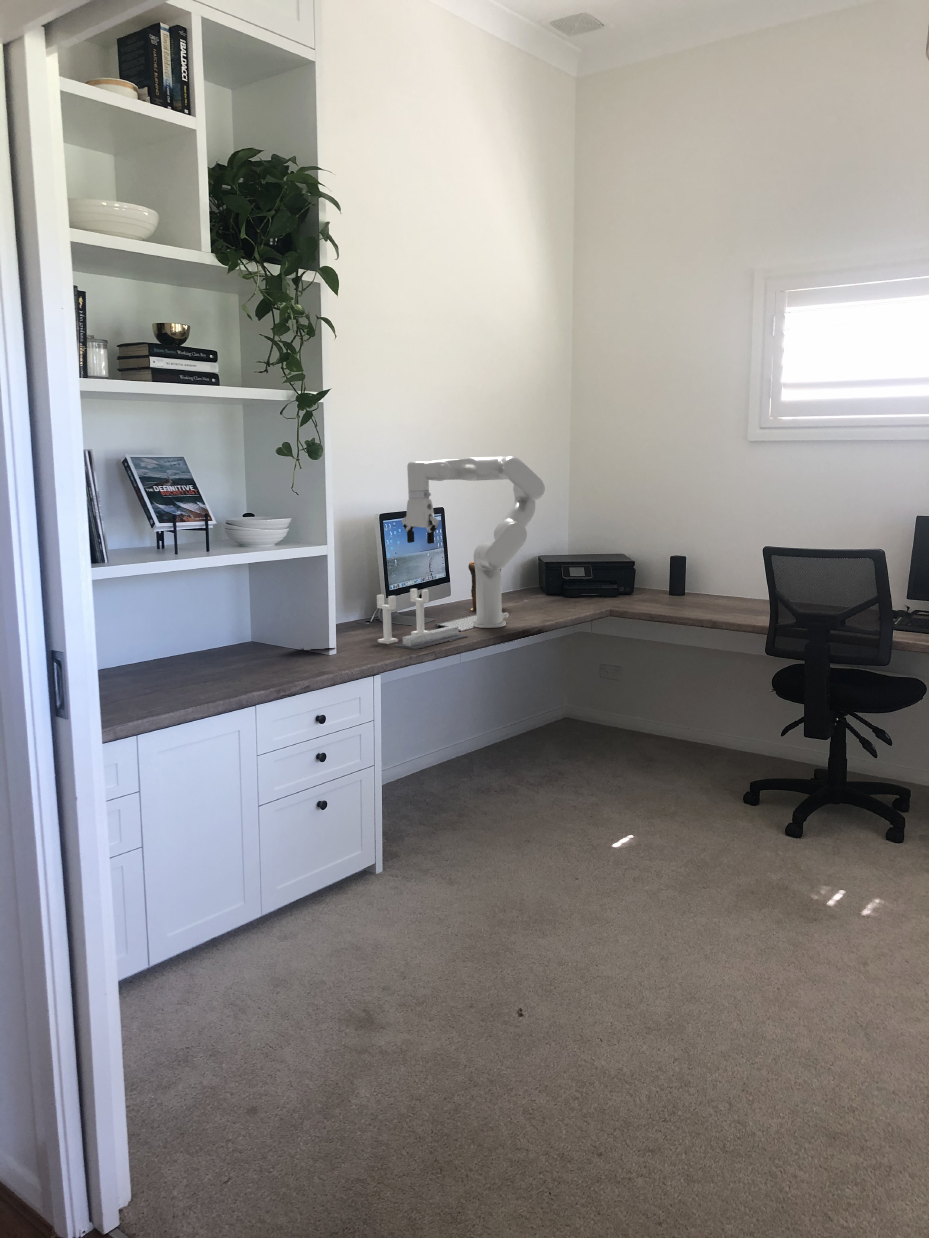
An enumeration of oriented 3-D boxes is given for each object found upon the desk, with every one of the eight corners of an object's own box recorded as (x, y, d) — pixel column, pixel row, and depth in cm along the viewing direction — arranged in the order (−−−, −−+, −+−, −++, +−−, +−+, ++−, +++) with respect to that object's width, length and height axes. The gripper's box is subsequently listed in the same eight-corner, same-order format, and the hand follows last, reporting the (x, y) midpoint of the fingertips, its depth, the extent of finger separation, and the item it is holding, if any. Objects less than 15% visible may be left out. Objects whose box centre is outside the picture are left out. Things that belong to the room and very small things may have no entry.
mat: (446, 634, 346) (446, 632, 346) (467, 637, 339) (467, 635, 339) (394, 646, 325) (394, 645, 325) (415, 650, 319) (415, 648, 319)
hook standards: (418, 632, 351) (417, 588, 348) (432, 634, 347) (431, 589, 344) (375, 642, 335) (373, 595, 332) (389, 644, 330) (388, 597, 327)
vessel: (507, 606, 404) (505, 560, 401) (500, 613, 391) (498, 564, 387) (474, 606, 408) (472, 560, 404) (466, 612, 394) (464, 564, 391)
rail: (451, 634, 343) (451, 625, 342) (458, 635, 341) (458, 626, 340) (403, 645, 324) (402, 637, 324) (410, 646, 322) (410, 638, 321)
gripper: (443, 495, 342) (445, 542, 345) (408, 495, 353) (410, 541, 356) (430, 496, 336) (432, 544, 339) (394, 496, 347) (396, 543, 350)
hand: (420, 542), depth 347 cm, fingers open, 9 cm apart
